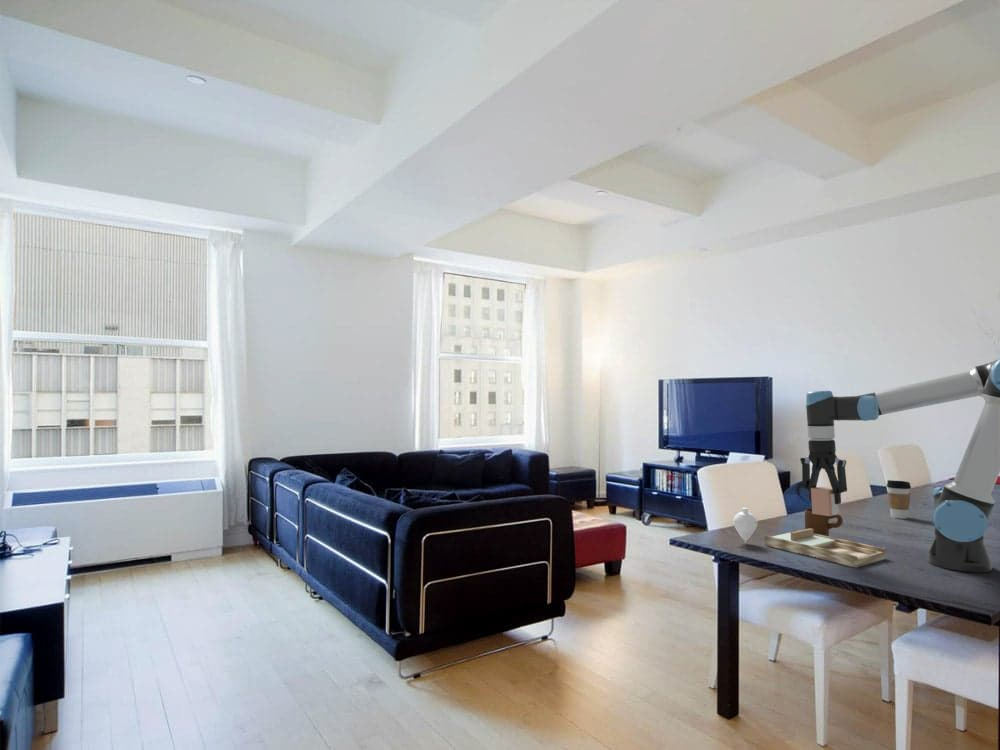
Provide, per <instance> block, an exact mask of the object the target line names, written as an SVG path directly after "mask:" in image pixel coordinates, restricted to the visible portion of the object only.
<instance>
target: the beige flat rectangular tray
mask: <svg viewBox="0 0 1000 750" xmlns="http://www.w3.org/2000/svg"><path fill="white" fill-rule="evenodd" d="M795 531H799V529H792V532H795ZM813 535H815V536H819V537H824V538H829V539H833V540H836V542H833V543H828V544H824V545H820V546H816V547H815V546H810V545H806V544H802V543H797V542H793V541H789V540H784V539H780V538H776V537H772V536H770V535H764V546H768V547H772V548H775V549H780V550H784V551H786V552H787V551H788V552H791V553H796V554H799V553H800V555H803V554H804V555H803V556H807V555H809V556H808V557H811V556H812V558H815V557H816V559H819V558H820V560H823V561H826V562H827V561H828V562H832V563H835V562H836V563H837V564H839V565H840V564H841V565H844V566H847V567H852V568H860V567H863V566H867V565H870V564H873V563H877V562H880V561H883V560H886V557H887V556H886V555H887V554H886V548H883V547H879V546H875V545H869V544H865V543H861V542H856V541H853V540H852V541H851V540H846V539H841V538H837V537H834V536H833V537H832V536H829V537H828V536H823V535H819V534H814V533H813Z"/></svg>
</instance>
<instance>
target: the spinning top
mask: <svg viewBox="0 0 1000 750" xmlns="http://www.w3.org/2000/svg"><path fill="white" fill-rule="evenodd" d="M732 523H733V526H734V528H735V529H736V531H737V533H738V534H739V537H741V539H742V540H743V541H744V543H745V544H747V541H748V540H749V539H750V537H751V536H752V535H753V534H754V532H755V530H756V529H757V527H758V520H757V518H756V516H754V514H752V513H751V512H749V508H748V507H742V508H741V511H740V512H738V513H736V514H735V516H734V517H733V522H732Z"/></svg>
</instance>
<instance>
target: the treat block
mask: <svg viewBox="0 0 1000 750" xmlns="http://www.w3.org/2000/svg"><path fill="white" fill-rule="evenodd" d="M832 492H833V490H832V487H827V486H816V488H811V500H812V501H811V509H812V514H817V515H825V516H833V515H832V505H831V494H832Z"/></svg>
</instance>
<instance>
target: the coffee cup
mask: <svg viewBox="0 0 1000 750" xmlns="http://www.w3.org/2000/svg"><path fill="white" fill-rule="evenodd" d="M886 482H887V483H886V487H887V490H888V491H887V496H888V504H889V511H890V518H893V519H901V520H905V519H909V510H910V509H909V508H910V499H911V493H910V492H911V490H910V489H912V486H911V482H910V481H905V480H904V481H903V480H892V479H891V480H890V479H887V481H886Z"/></svg>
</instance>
